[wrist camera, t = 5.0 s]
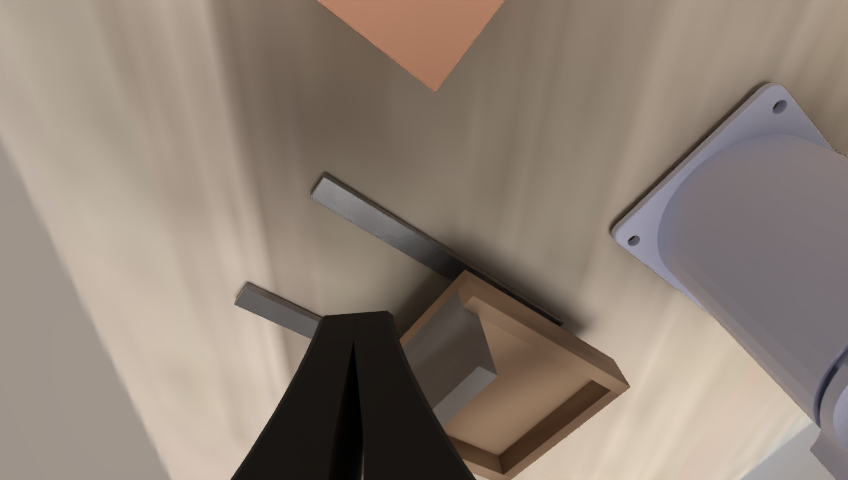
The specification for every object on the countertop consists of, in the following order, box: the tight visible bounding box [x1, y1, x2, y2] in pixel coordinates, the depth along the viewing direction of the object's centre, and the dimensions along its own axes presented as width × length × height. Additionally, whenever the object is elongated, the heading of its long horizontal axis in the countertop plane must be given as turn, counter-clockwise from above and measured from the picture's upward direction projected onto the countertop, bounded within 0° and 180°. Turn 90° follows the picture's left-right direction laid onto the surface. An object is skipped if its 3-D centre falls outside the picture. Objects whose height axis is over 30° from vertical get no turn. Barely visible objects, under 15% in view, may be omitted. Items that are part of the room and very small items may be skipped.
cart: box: [362, 270, 630, 480], centre depth 20 cm, size 9×8×6 cm
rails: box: [234, 173, 563, 339], centre depth 21 cm, size 13×7×1 cm, turn 52°
